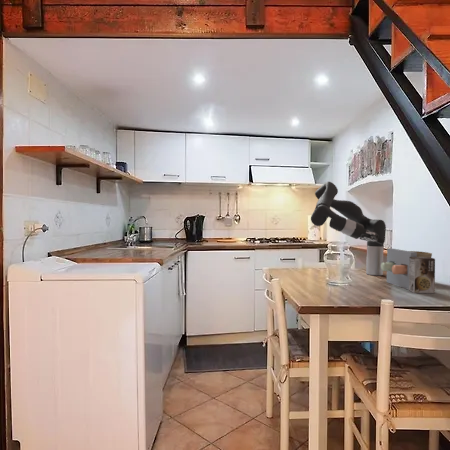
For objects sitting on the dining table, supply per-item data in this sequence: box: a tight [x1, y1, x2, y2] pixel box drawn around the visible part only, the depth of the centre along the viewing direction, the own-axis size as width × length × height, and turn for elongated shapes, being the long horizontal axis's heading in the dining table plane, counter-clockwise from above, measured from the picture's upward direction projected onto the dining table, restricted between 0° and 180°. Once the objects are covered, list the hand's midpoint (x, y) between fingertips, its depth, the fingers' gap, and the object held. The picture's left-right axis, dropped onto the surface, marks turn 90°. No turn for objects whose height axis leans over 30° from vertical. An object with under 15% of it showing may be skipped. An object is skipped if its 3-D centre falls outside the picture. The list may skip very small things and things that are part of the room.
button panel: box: [386, 248, 417, 291], centre depth 177 cm, size 20×3×18 cm, turn 6°
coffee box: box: [408, 257, 436, 294], centre depth 163 cm, size 9×6×16 cm
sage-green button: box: [381, 261, 395, 272], centre depth 181 cm, size 4×7×4 cm, turn 96°
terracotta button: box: [392, 265, 408, 274], centre depth 171 cm, size 4×7×4 cm, turn 96°
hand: (383, 242), depth 171 cm, fingers closed
